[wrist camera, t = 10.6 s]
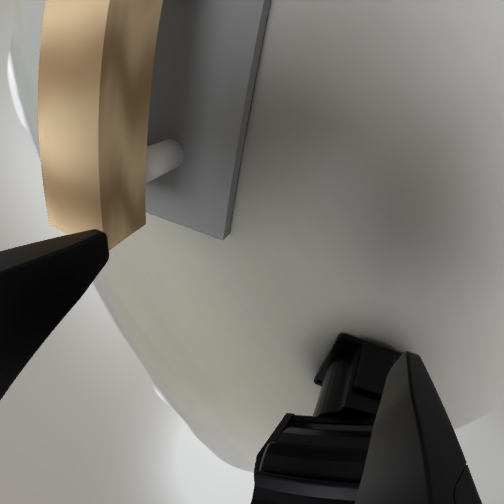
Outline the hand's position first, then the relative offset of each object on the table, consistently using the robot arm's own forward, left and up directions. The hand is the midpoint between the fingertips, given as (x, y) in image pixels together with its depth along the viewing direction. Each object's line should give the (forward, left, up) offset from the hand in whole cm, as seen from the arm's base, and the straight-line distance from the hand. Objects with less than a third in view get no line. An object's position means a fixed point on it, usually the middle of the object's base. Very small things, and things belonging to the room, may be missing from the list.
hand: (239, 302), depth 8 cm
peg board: (+5, +11, -12) cm, 17 cm away
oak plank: (+5, +11, -7) cm, 14 cm away
